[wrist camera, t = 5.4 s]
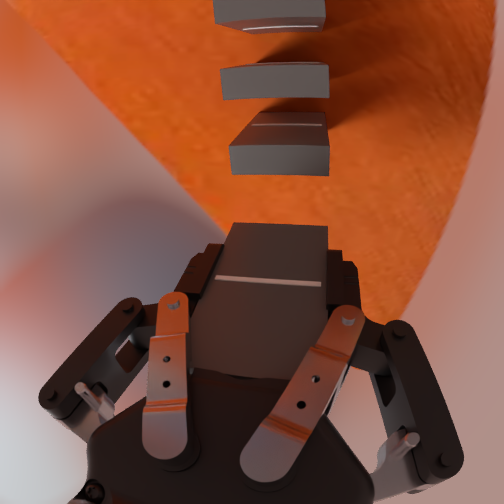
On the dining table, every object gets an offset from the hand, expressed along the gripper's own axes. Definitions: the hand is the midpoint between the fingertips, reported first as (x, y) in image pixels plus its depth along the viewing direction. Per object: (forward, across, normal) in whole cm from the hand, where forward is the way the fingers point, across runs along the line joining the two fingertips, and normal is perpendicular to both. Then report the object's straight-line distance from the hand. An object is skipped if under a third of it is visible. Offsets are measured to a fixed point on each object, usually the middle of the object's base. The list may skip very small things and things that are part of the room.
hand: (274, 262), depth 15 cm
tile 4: (+12, 0, -12) cm, 17 cm away
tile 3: (+12, 0, -8) cm, 14 cm away
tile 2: (+12, 0, -4) cm, 13 cm away
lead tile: (+2, 0, 0) cm, 2 cm away
